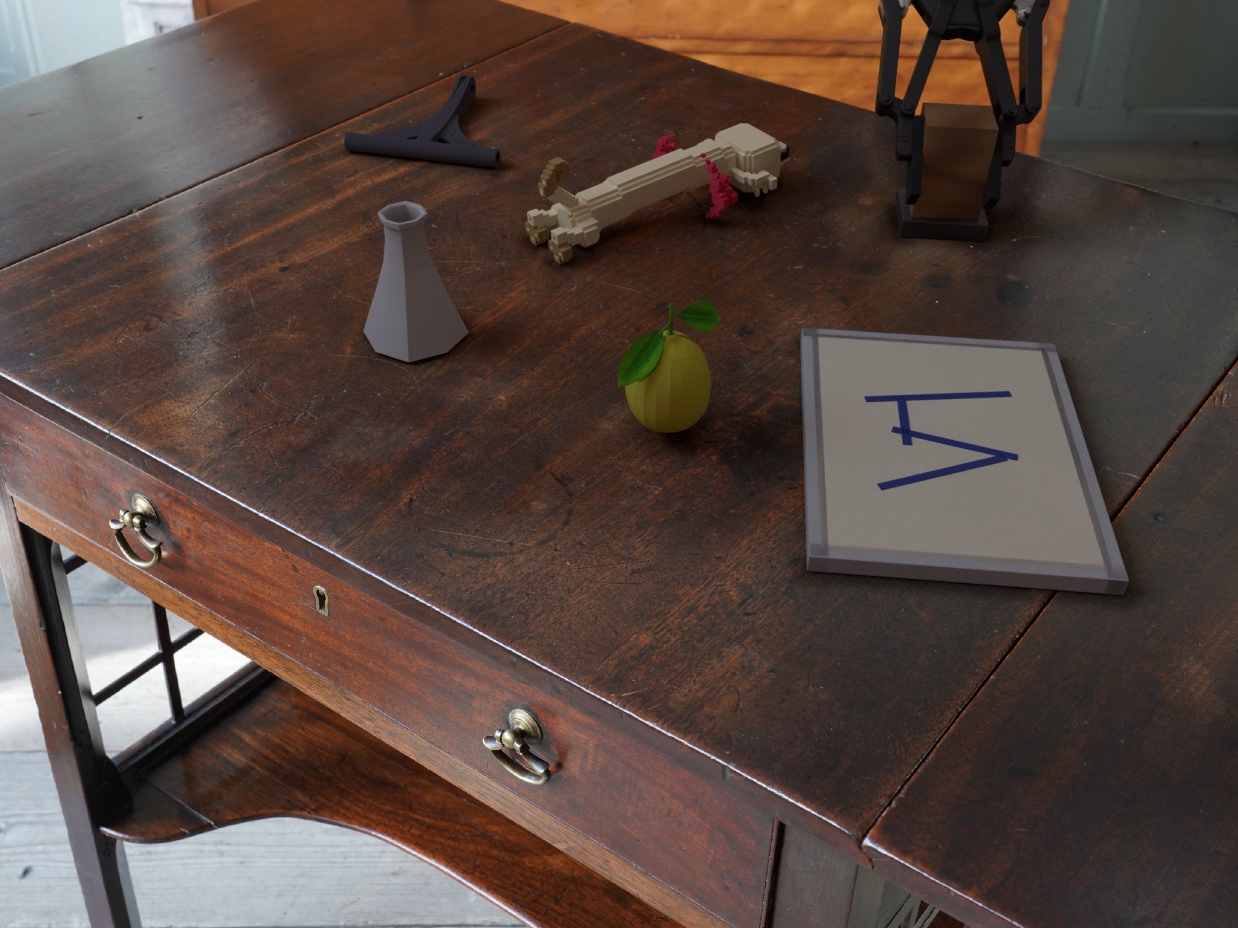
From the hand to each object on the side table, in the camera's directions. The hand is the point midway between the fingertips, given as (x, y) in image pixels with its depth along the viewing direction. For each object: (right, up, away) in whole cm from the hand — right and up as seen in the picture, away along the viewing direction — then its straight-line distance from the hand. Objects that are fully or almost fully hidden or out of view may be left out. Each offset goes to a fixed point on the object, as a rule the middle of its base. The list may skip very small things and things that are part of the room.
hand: (952, 201), depth 98 cm
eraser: (0, -1, +5) cm, 5 cm away
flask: (-42, -12, -9) cm, 44 cm away
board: (-6, -20, -19) cm, 28 cm away
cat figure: (-23, 0, +6) cm, 23 cm away
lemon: (-24, -19, -17) cm, 35 cm away
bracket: (-43, +11, +18) cm, 48 cm away
